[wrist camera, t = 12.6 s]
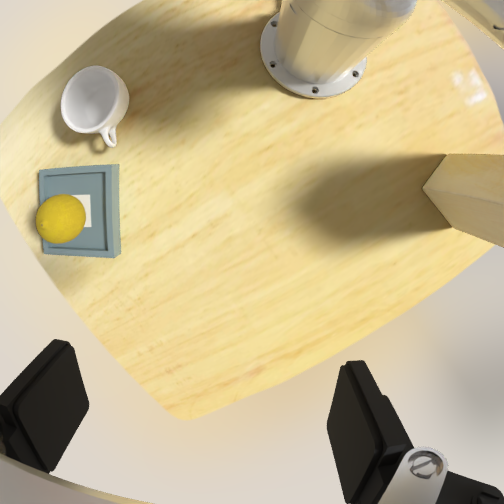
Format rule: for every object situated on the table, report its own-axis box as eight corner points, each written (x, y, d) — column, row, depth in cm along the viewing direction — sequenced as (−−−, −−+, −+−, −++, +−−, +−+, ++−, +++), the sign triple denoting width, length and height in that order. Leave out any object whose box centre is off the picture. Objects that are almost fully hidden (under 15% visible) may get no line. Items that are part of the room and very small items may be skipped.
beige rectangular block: (480, 191, 36) (595, 218, 15) (453, 229, 37) (566, 279, 17) (450, 148, 34) (573, 152, 14) (420, 188, 36) (543, 216, 16)
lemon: (78, 181, 34) (41, 187, 27) (104, 215, 35) (71, 227, 28) (53, 211, 35) (16, 223, 27) (78, 243, 36) (44, 261, 29)
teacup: (75, 95, 33) (53, 88, 27) (125, 65, 32) (108, 52, 27) (98, 162, 35) (77, 162, 30) (151, 133, 34) (135, 129, 29)
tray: (48, 169, 35) (39, 169, 33) (119, 164, 35) (111, 164, 33) (52, 249, 38) (44, 254, 36) (121, 253, 38) (114, 258, 36)
